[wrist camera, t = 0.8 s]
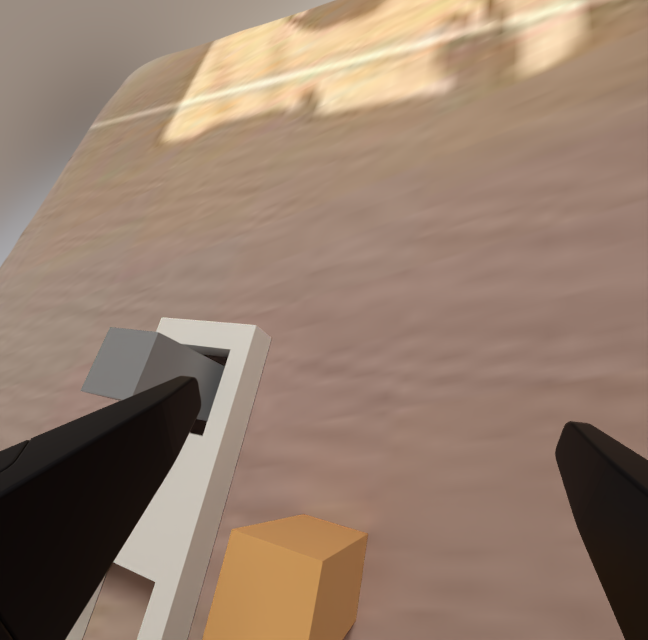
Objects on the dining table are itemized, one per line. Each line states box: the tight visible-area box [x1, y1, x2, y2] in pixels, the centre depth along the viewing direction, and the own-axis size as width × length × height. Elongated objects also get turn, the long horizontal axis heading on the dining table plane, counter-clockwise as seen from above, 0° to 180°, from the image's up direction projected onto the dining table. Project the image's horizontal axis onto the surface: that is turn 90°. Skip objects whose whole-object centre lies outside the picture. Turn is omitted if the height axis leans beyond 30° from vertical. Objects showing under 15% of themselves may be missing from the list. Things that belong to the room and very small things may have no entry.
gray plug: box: [81, 327, 225, 421], centre depth 23 cm, size 4×4×8 cm
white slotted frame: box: [66, 317, 272, 640], centre depth 23 cm, size 24×9×2 cm, turn 168°
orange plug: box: [202, 514, 368, 640], centre depth 16 cm, size 4×4×8 cm
